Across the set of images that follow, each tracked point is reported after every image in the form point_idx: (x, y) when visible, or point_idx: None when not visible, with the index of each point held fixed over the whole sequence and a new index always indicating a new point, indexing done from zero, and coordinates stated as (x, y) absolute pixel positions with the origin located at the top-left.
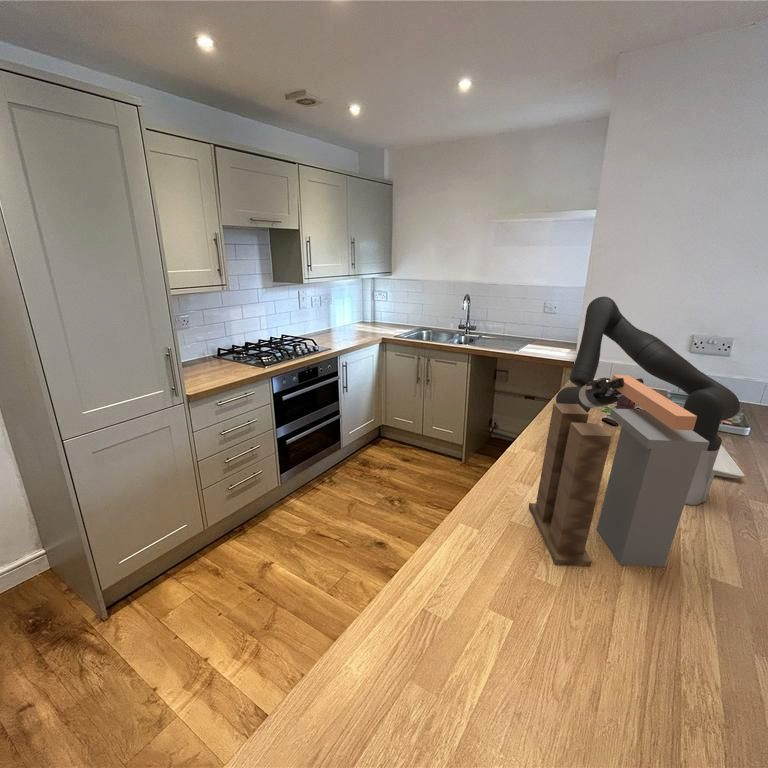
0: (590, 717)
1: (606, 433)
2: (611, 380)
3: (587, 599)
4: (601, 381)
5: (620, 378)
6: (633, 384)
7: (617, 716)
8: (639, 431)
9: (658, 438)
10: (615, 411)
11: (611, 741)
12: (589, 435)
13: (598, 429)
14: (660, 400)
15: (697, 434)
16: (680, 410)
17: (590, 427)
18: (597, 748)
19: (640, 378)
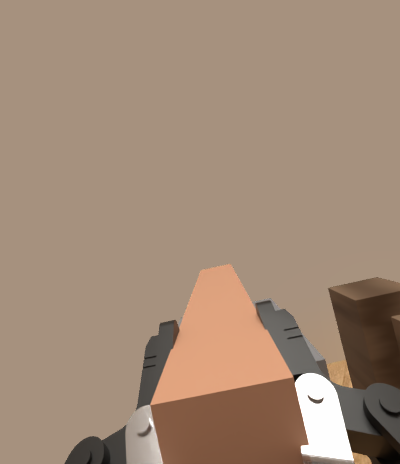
0: (347, 373)
1: (336, 289)
2: (313, 376)
3: (366, 459)
4: (397, 395)
5: (270, 301)
6: (228, 307)
7: (331, 377)
8: (277, 306)
9: (254, 303)
10: (312, 347)
11: (334, 367)
12: (364, 280)
13: (352, 290)
14: (218, 277)
15: (178, 326)
16: (210, 271)
17: (368, 289)
18: (342, 364)
19: (166, 322)
